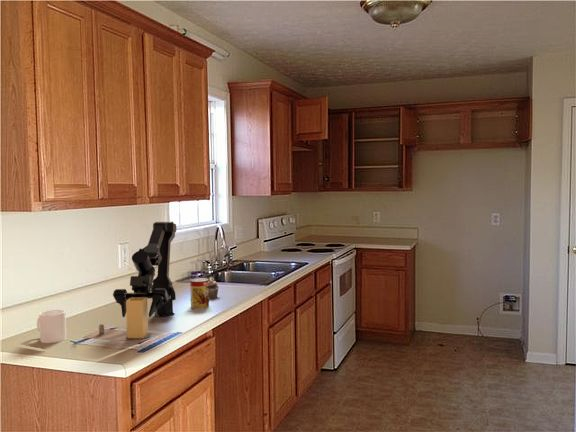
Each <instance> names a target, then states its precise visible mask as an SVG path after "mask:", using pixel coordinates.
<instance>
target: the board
mask: <svg viewBox="0 0 576 432" xmlns="http://www.w3.org/2000/svg"><path fill="white" fill-rule="evenodd" d="M156 334H157V332H151V331H148V334H147V335H146V336H145V337H144V338H127V330H121V329H108V328H105V324H104V323H101V324H99V325H98V330H97V331H94V332H92V333H89V334H87V335H84V336H82V338H84V339H94V340H95V339H97V340H106V341H107V340H109V341H120V342H121V341H122V342H123V341H124V342H136V344H137V345H142V344H143V343H145V342H147V341H148V340H149V341H150V337H152V336H154V335H156Z"/></svg>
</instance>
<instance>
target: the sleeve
mask: <svg viewBox="0 0 576 432" xmlns="http://www.w3.org/2000/svg"><path fill="white" fill-rule="evenodd" d="M126 331H127V338H144V337H145V336H146V335H147V334H148V332H149V311H148V299H147V297H131V298H129V299H128V300H127V301H126Z"/></svg>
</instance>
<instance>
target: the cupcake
mask: <svg viewBox="0 0 576 432" xmlns="http://www.w3.org/2000/svg"><path fill="white" fill-rule="evenodd" d="M202 278H206V279H208V291H209V300H214V299H217V298H218V293H219V285H218V284H217V281H216V280H215V278H214V276H212V275H210V276H209V277H208V276H207V277H205V276H202Z"/></svg>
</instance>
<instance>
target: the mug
mask: <svg viewBox="0 0 576 432" xmlns="http://www.w3.org/2000/svg"><path fill="white" fill-rule="evenodd" d="M38 316H39V317H38V318H37V320H36V327H37V331H38V332H39V337H40V338H39V340H40V342H41V343H43V344H53V343H54V344H55V343H59V342H62V341H65V340H66V339H67V319H66V310H64V309H51V310H46V311H45V310H44V311H41V312H39V314H38Z"/></svg>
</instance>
